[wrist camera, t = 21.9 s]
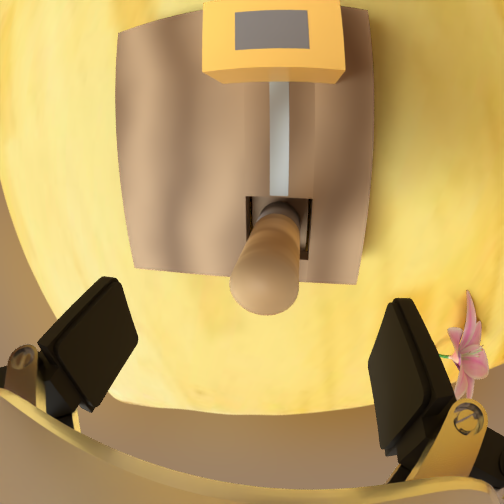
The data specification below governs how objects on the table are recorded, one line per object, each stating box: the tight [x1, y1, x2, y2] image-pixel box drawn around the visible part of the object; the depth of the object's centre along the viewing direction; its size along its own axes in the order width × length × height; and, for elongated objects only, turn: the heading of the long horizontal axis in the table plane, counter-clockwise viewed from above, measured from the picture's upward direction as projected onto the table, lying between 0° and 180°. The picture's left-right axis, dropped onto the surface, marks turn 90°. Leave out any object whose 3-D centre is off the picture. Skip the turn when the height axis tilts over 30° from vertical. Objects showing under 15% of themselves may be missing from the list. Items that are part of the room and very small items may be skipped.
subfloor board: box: [115, 6, 374, 285], centre depth 18 cm, size 18×20×4 cm
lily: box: [439, 290, 489, 400], centre depth 21 cm, size 12×12×10 cm
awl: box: [229, 202, 300, 315], centre depth 16 cm, size 3×3×9 cm
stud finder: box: [202, 0, 345, 84], centre depth 12 cm, size 7×4×4 cm, turn 91°
